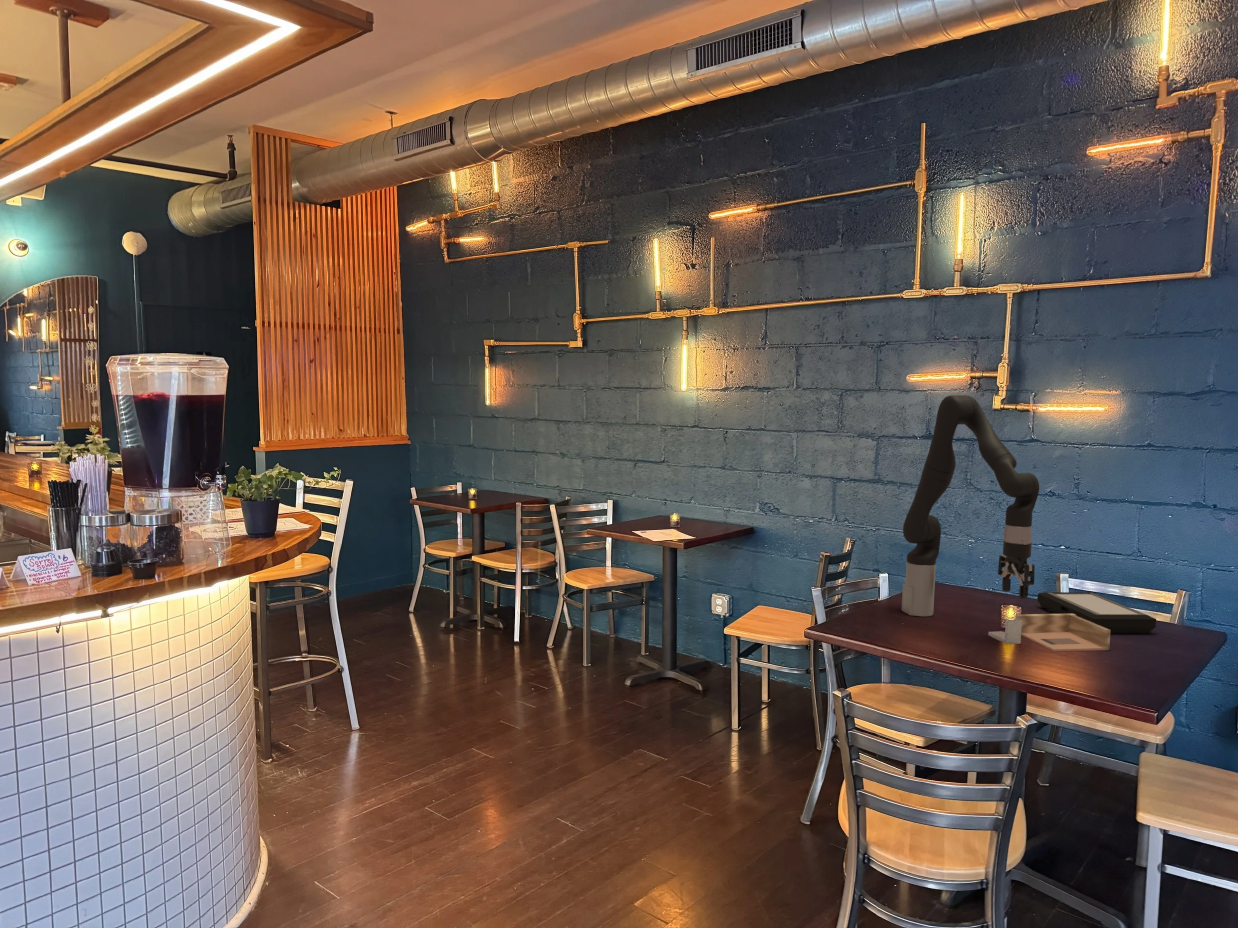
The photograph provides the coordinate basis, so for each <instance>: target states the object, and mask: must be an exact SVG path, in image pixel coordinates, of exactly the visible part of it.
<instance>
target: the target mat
mask: <svg viewBox="0 0 1238 928" xmlns="http://www.w3.org/2000/svg"><path fill="white" fill-rule="evenodd" d="M1021 637H1024V638H1025V639H1028V640H1029V641H1032V642H1034V643H1036V644H1038V645H1039V646H1041V647H1044V648H1046V649H1048V650H1050V651H1052V652H1082V651H1083V652H1084V651H1085V652H1086V651H1105V650H1104V649H1105V648H1103V647H1101V646H1099V645H1096V644H1094V643H1092V642H1090V641H1088V640H1085V639H1083V638H1081V637H1079V636H1076V635H1074V634H1072V633H1070V632H1044V633H1021Z"/></svg>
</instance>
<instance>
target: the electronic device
mask: <svg viewBox="0 0 1238 928" xmlns="http://www.w3.org/2000/svg"><path fill="white" fill-rule="evenodd" d="M1037 603H1039V606H1041V608H1042V607H1043V608H1045V609H1047V610H1046V611H1048V610H1049V611H1048V612H1050V613H1051V614H1075V615H1076V616H1078V617H1080V618H1083V619H1085V620H1088V621H1090V622H1092V623H1095V624H1097V625H1100V626H1102V627H1105V628H1107V629H1109V630H1111V632H1110V634H1120V633H1148V634H1149V633H1150V632H1151V631H1153V630H1154V629H1155V628H1156V626H1157V618H1155V617H1153V616H1150V615H1148V614H1146V613H1143V612H1141V611H1138V610H1136V609H1134V608H1131V607H1129V606H1126V605H1124V604H1121V603H1118V602H1116V601H1114V600H1112V599H1109V598H1106V597H1104V596H1101V595H1099V594H1097V593H1094V592H1091V591H1089V592H1086V591H1085V592H1082V591H1081V592H1078V591H1077V592H1076V591H1074V592H1072V591H1071V592H1067V591H1066V592H1064V591H1062V592H1061V591H1059V592H1057V591H1056V592H1055V591H1054V592H1053V591H1050V592H1049V591H1046V592H1045V591H1044V592H1038V593H1037ZM1043 608H1042V609H1043ZM1045 609H1044V610H1045Z"/></svg>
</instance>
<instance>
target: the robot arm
mask: <svg viewBox="0 0 1238 928" xmlns="http://www.w3.org/2000/svg"><path fill="white" fill-rule="evenodd" d="M935 419H936V420H935V425H934V428H933V435H932V438H931V441H930V445H929V446H930V447H929V449H928V452H927V453H928V454H927V456H926V459H925V462H924V466H923V469H922V471H921V477H920V480H919V482H918V485H917V489H916V492H915V495H914V498H913V500H912V503H911V505H910V507H909V509H908V512H907V514H906V516H905V520H904V521H903V522H904V523H903V527H902V534H903V537H904V539H905V541H906V542H908V543H910V544H916V545H915V547H914V548H913V549H912V550H911V551H909V552H908V553H907V555H906V567H905V569H906V570H905V582H904V583H902V594H901V595H902V598H901V611H902V612H903V613H905V614H907V615H908V616H916V617H931V616H933V615H934V603H935V602H934V601H935V588H936V587H935V586H936V585H935V584H936V565H937V559H938V557H939V555H940V547H941V546H940V545H941V538H942V535H941V534H942V528H941V524H940V521H939V520H938V518H937V517H936V516H935V515H931V514H930V513H931V510H932V509H933V508H934V506H935V504H936V502H938V500H939V499H940V498H941V497H942V496H943V494H944V493H945V492H946V491H947V490H948V488H949V487H950V484H951V482H952V479H953V476H954V474H955V469H956V462H957V461H956V454H955V451H954V446H953V444H954V443H953V440H954V436H955V433H956V430H957V427H958V425H965V426H966V427H968V429H969V430H970V431H971V432H972V433H973V434H974V436H975V438H976V440H977V446H978V450H979V452H980V455H981V457H982V458H983V460H984V461H985V462H986V463H987V465H988V466H989V467H990V469H991V470H992V471H993V473H994V476H995V478H996V481H997V483H998V485H999V488H1000V489H1001V491H1002V492H1003V493H1004V494H1005V495H1006V496H1008V497H1010V498H1014V502H1013V503H1011V504H1010V505H1008V506H1007V507H1006V511H1005V524H1004V529H1003V542H1002V543H1003V545H1002V555H999V556H998V567H997V575H998V576H1001V579H1002V584H1001V585H1002V586H1001V590H1002V591H1003V592H1010V591H1011V584H1012V583H1011V582H1012V581H1011V580H1012V579H1011V578H1012V576H1013V575H1014V576H1015V578H1016V579H1017V580H1018V582H1019V584H1020V585H1019V590H1018V591H1019V592H1018V595H1019V596H1018V597H1019V598H1020V599H1027V598H1028V596H1029V587H1030V586H1034V585H1035V567H1036V566H1035V564H1034V563H1033V564H1031V563H1028V559H1029V558H1031V557H1032V542H1033V525H1032V524H1033V511H1034V508H1035V506H1036V502H1037V500H1038V496H1039V493H1040V482H1039V479H1038V477H1037V476H1036V475H1034V474H1033V473H1031V472H1017V471H1016V470H1015V468H1016V467H1017V465H1018V462H1017V459H1016V458H1015V456H1014V455H1013V454H1012V453H1011V452H1010V450H1009V449H1008V448H1007V446H1006V445H1005V444H1004V443H1003V442H1002V440H1001V438H999V436H998V435H997V433H996V431H995V430H994V428H993V427H992V425H991V423H990V422H989V420H988V418H987V416H986V414H985V413H984V411H983V409H982V407H981V406H980V404H979V402H978V401H977V400H976V399H975V398H974V397H973V396H970V395H967V394H966V395H964V394H963V395H962V394H961V395H960V394H959V395H958V394H956V395H955V394H953V395H952V394H951V395H947V396H945V397H944V398H943V399H942V400H941V402H940V403H939V405H938V409H937V414H936V418H935Z"/></svg>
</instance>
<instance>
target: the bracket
mask: <svg viewBox="0 0 1238 928" xmlns="http://www.w3.org/2000/svg"><path fill="white" fill-rule="evenodd" d="M1004 628H1005V629H1004V631H1003V630H1002V631H988V636H990V637H991V638H993V639H995V640H997V641H999V642H1002V643H1003V644H1005V645H1019V644H1021V643H1022V635H1021V628H1022V621H1020V620H1016V619H1014V620H1013V619H1012V620H1011V619H1010V620H1009V619H1007V620H1005V627H1004Z"/></svg>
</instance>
